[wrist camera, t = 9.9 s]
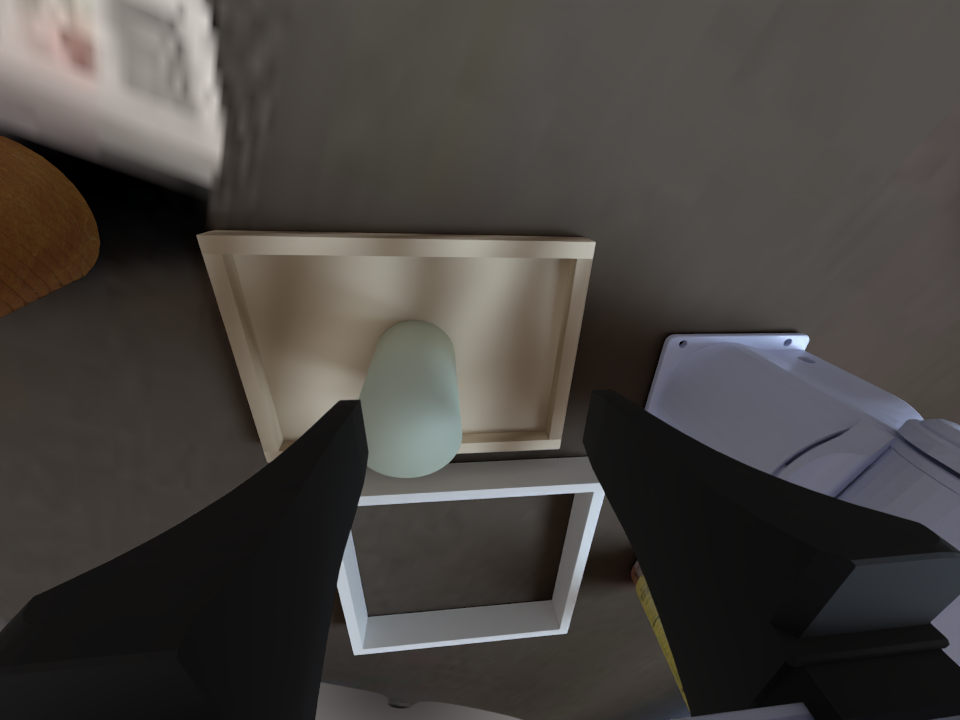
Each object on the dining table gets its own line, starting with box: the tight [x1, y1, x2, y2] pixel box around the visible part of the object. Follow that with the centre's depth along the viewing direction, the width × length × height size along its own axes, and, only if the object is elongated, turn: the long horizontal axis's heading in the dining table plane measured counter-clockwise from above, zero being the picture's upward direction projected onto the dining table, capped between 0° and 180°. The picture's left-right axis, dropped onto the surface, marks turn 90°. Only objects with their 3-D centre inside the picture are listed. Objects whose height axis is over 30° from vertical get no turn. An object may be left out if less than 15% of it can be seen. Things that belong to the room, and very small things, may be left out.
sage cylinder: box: [358, 320, 462, 478], centre depth 17 cm, size 4×4×7 cm
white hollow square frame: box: [337, 457, 605, 655], centre depth 29 cm, size 19×19×2 cm
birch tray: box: [196, 230, 596, 462], centre depth 20 cm, size 18×13×2 cm
